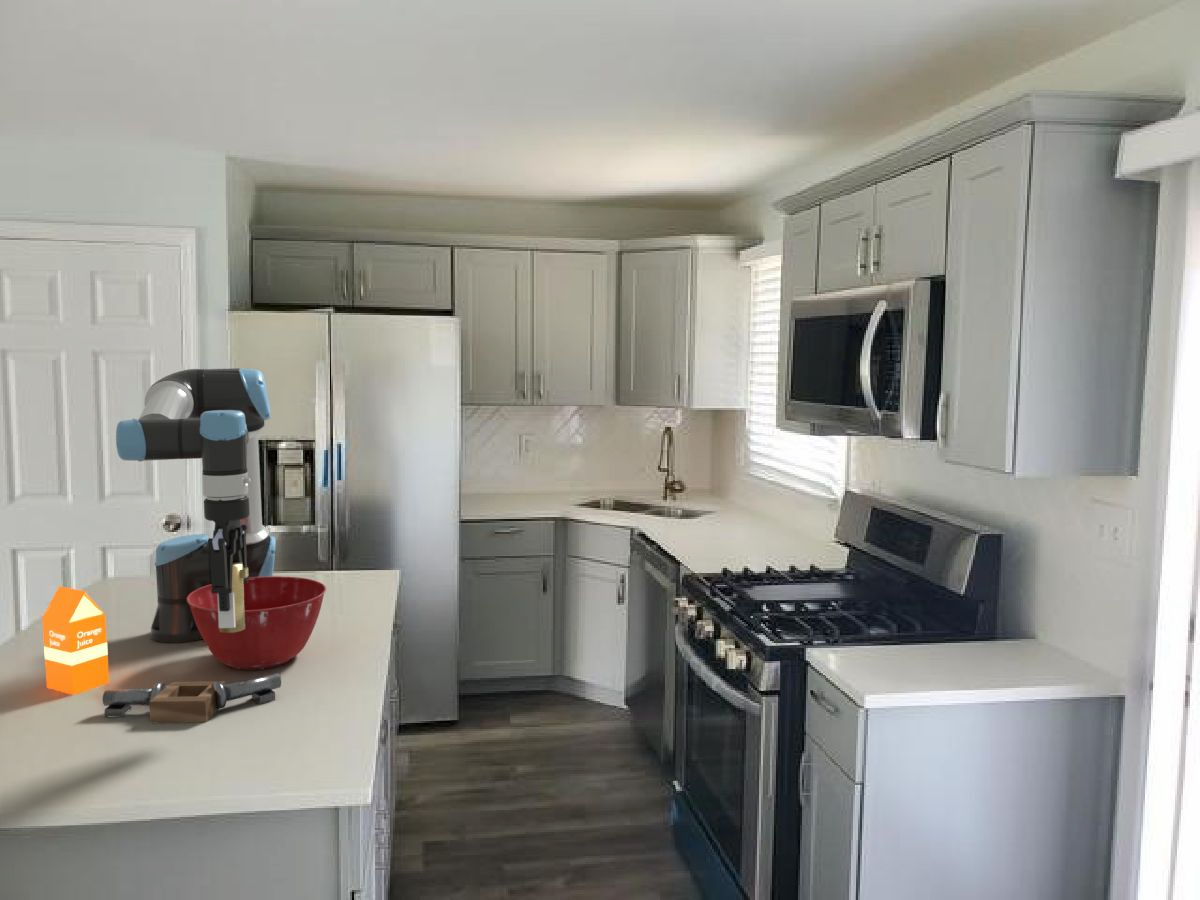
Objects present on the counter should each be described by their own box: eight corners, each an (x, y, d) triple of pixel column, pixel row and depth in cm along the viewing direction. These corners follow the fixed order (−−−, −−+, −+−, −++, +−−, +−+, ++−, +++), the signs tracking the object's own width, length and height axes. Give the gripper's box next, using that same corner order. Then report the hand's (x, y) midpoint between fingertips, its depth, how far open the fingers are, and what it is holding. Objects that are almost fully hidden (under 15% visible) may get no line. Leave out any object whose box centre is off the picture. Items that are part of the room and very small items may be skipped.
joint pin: (219, 625, 168) (217, 562, 167) (253, 625, 168) (250, 561, 167) (211, 633, 164) (208, 567, 162) (245, 632, 164) (242, 567, 163)
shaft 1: (167, 707, 173) (166, 679, 173) (156, 717, 168) (154, 688, 168) (114, 707, 173) (112, 679, 172) (100, 718, 168) (99, 689, 167)
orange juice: (83, 675, 190) (77, 582, 188) (110, 682, 186) (104, 587, 184) (45, 688, 183) (39, 590, 181) (72, 695, 179) (66, 596, 177)
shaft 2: (221, 714, 169) (220, 686, 169) (211, 707, 173) (210, 679, 172) (284, 698, 177) (282, 671, 177) (273, 691, 181) (272, 664, 180)
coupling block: (173, 702, 176) (172, 681, 175) (226, 701, 176) (225, 681, 176) (150, 722, 166) (149, 701, 165) (206, 721, 166) (205, 700, 166)
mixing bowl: (350, 643, 211) (349, 578, 209) (284, 687, 183) (281, 612, 181) (241, 636, 217) (238, 572, 215) (160, 677, 189) (156, 604, 187)
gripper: (231, 504, 155) (237, 638, 158) (262, 488, 172) (267, 609, 175) (186, 505, 154) (192, 638, 157) (221, 489, 172) (227, 609, 174)
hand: (232, 622), depth 166 cm, fingers closed on joint pin, 4 cm apart
